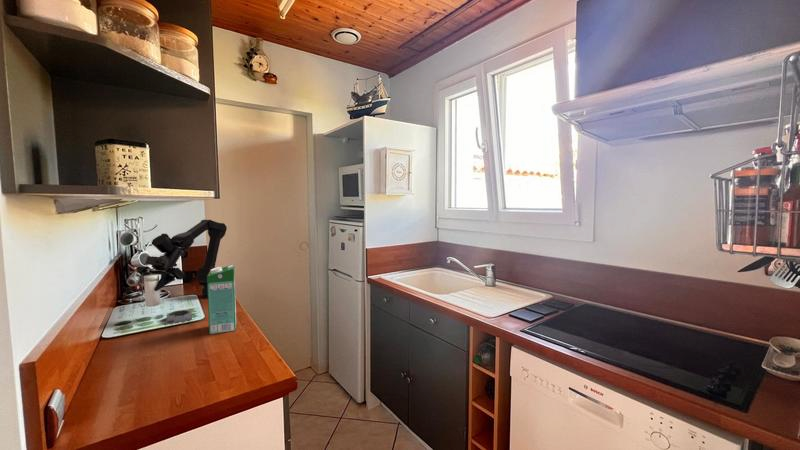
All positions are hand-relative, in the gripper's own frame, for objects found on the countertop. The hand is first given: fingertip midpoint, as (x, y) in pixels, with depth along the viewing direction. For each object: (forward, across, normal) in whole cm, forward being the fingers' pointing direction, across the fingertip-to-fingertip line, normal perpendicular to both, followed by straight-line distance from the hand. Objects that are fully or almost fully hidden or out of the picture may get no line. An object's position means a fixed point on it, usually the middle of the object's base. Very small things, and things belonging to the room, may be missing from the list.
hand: (149, 290), depth 135 cm
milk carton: (+11, +34, +8) cm, 36 cm away
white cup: (+4, 0, +6) cm, 7 cm away
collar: (+7, +10, +12) cm, 17 cm away
